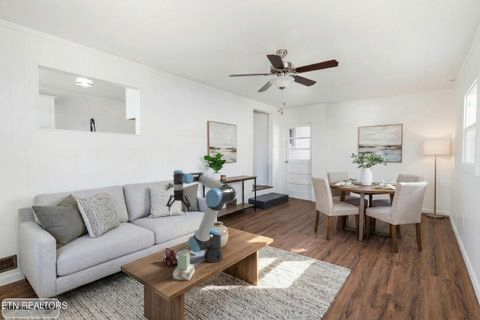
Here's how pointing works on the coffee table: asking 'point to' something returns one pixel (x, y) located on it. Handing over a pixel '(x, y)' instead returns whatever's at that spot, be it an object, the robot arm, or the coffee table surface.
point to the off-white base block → (184, 273)
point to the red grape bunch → (170, 257)
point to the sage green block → (183, 260)
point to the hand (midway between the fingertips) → (178, 215)
